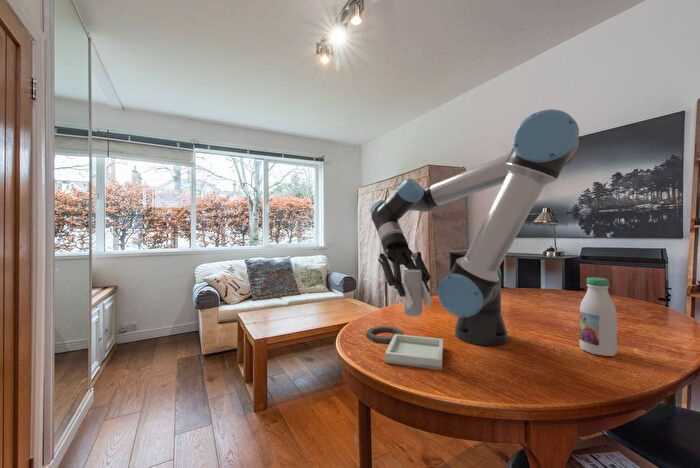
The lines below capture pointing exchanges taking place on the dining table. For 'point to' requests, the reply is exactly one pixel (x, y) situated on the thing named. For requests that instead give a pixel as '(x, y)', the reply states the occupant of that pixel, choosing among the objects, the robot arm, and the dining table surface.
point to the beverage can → (414, 291)
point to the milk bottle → (598, 319)
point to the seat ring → (379, 329)
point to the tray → (415, 351)
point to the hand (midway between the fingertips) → (419, 305)
